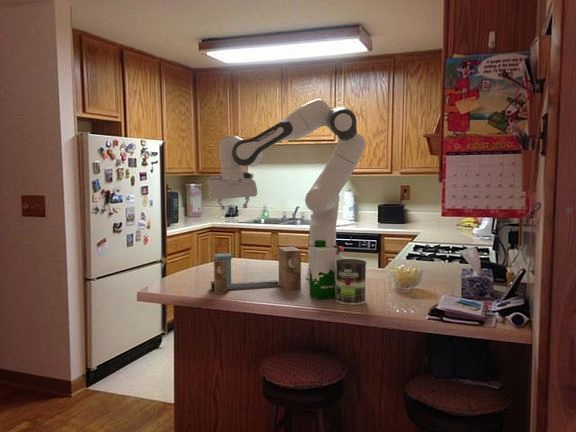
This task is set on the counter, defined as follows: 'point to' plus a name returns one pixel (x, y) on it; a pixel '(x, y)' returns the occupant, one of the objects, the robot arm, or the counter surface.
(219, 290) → the gauge post
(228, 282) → the carriage
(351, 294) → the coffee can
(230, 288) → the handrail
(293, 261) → the gauge cabinet
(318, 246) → the milk carton
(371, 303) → the counter surface
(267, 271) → the counter surface
